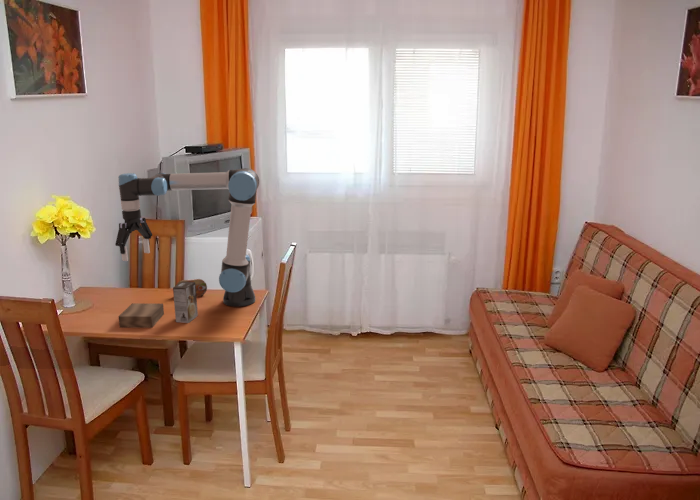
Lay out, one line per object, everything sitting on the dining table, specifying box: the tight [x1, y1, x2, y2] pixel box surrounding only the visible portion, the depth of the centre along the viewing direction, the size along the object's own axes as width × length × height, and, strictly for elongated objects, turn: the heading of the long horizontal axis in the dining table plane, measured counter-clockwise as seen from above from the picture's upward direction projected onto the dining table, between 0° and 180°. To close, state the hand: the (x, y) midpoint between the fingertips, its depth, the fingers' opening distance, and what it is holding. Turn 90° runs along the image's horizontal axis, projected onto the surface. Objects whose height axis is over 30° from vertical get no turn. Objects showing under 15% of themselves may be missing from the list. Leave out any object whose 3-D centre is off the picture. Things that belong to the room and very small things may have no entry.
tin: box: [176, 278, 208, 297], centre depth 290 cm, size 15×3×8 cm, turn 101°
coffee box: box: [172, 281, 199, 324], centre depth 259 cm, size 9×6×16 cm
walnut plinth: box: [117, 302, 165, 329], centre depth 258 cm, size 14×16×5 cm
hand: (136, 256), depth 261 cm, fingers open, 13 cm apart
